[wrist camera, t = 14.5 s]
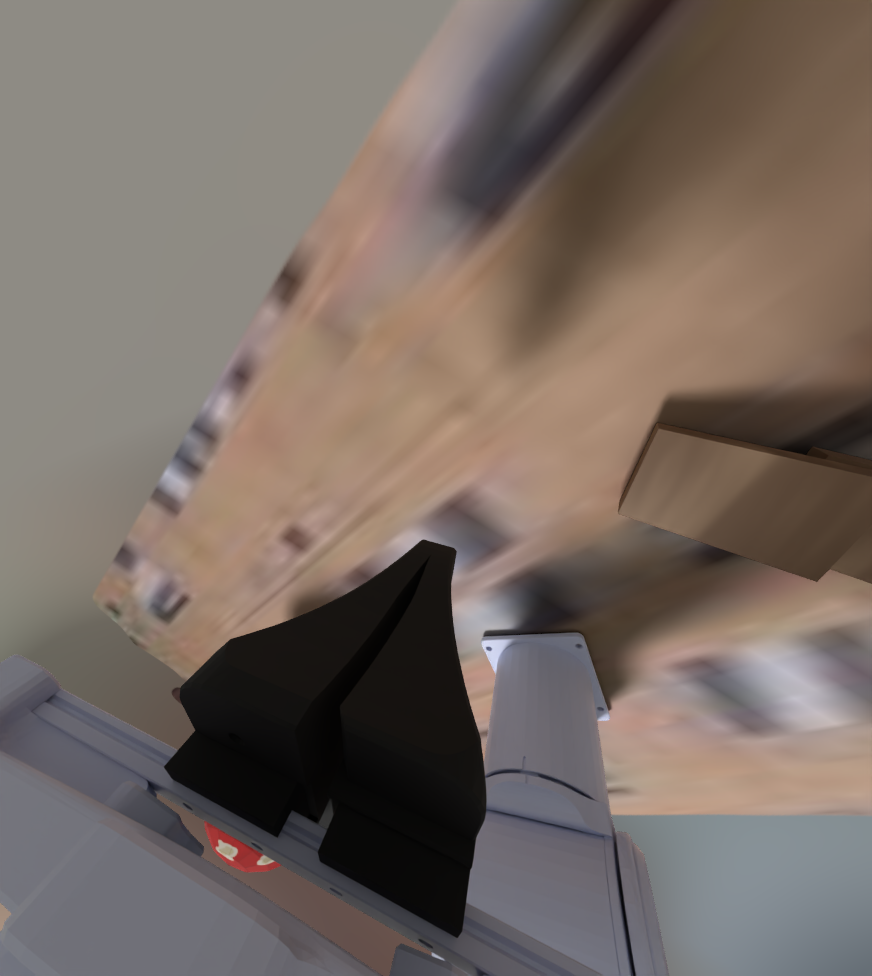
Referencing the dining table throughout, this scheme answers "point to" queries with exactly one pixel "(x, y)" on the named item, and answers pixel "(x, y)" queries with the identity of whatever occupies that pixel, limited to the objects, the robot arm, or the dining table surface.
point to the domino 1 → (750, 499)
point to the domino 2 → (868, 553)
